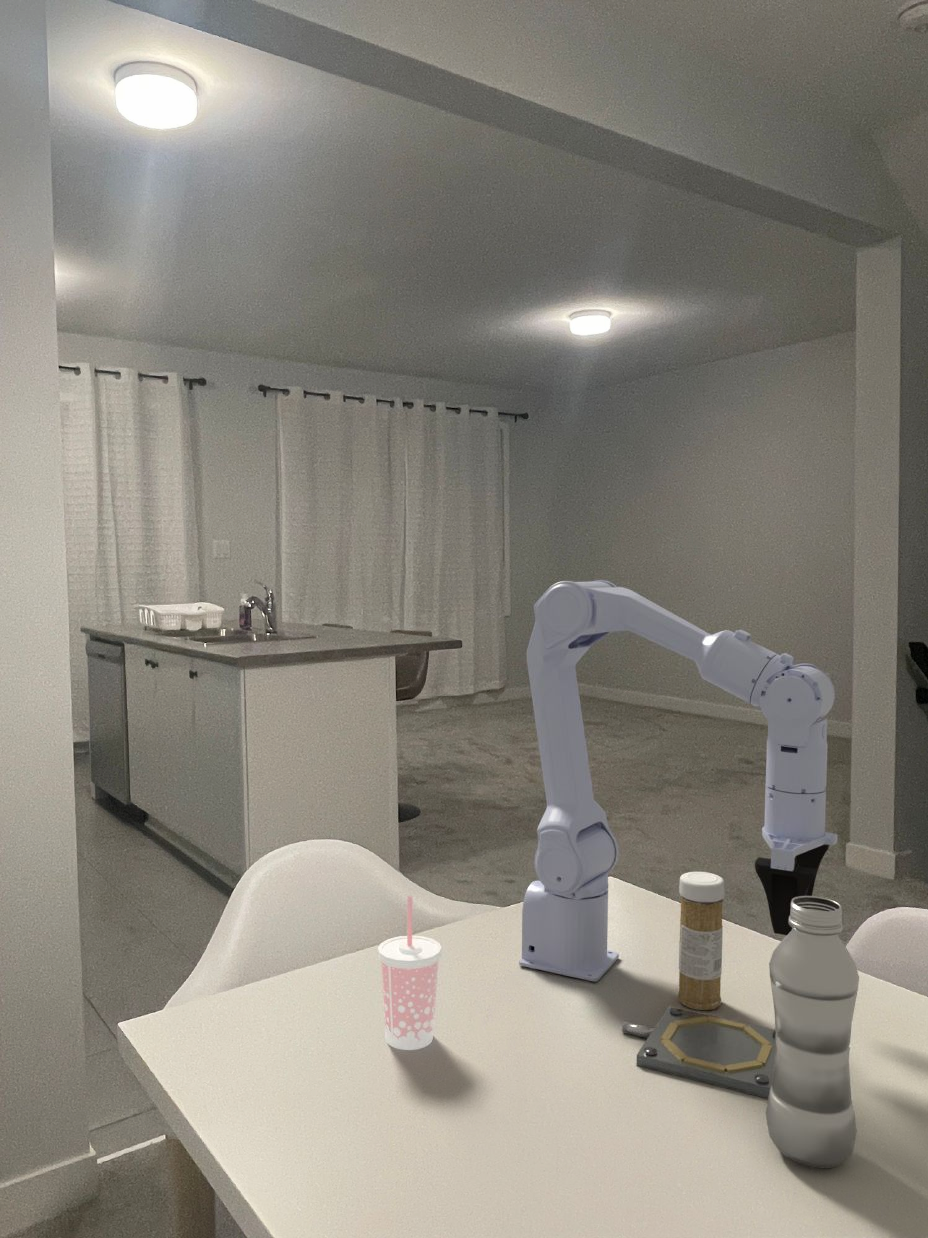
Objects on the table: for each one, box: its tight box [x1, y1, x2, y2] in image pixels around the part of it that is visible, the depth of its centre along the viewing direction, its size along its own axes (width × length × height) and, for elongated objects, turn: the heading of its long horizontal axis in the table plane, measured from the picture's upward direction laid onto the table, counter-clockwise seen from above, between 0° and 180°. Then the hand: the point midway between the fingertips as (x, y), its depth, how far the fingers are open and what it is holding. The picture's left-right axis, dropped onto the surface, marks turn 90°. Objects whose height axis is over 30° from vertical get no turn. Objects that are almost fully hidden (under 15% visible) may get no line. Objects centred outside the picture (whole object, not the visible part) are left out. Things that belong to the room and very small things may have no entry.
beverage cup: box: [377, 895, 442, 1051], centre depth 93 cm, size 6×6×14 cm
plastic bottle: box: [765, 895, 860, 1169], centre depth 75 cm, size 6×7×20 cm
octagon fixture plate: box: [621, 1005, 776, 1100], centre depth 91 cm, size 15×11×1 cm
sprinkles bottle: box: [677, 871, 725, 1011], centre depth 101 cm, size 5×5×14 cm
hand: (791, 921), depth 97 cm, fingers open, 7 cm apart
